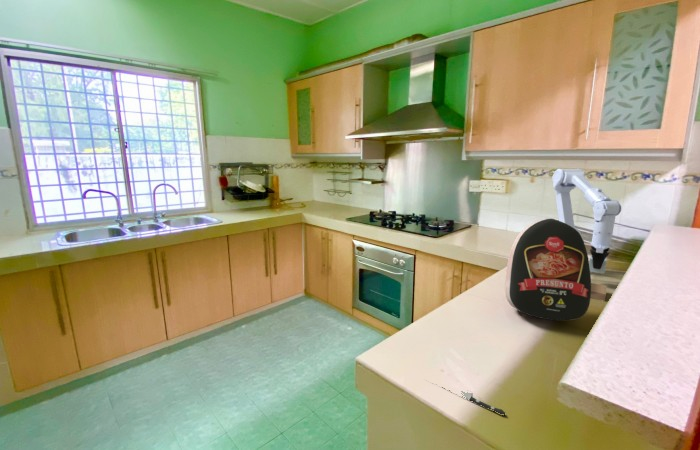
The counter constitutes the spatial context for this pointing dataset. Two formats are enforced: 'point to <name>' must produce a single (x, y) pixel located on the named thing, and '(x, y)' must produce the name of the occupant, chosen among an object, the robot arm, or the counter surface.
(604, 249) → the robot arm
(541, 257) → the packaged food
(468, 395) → the chef's knife
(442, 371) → the counter surface
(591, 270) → the grey cube
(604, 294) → the walnut block
